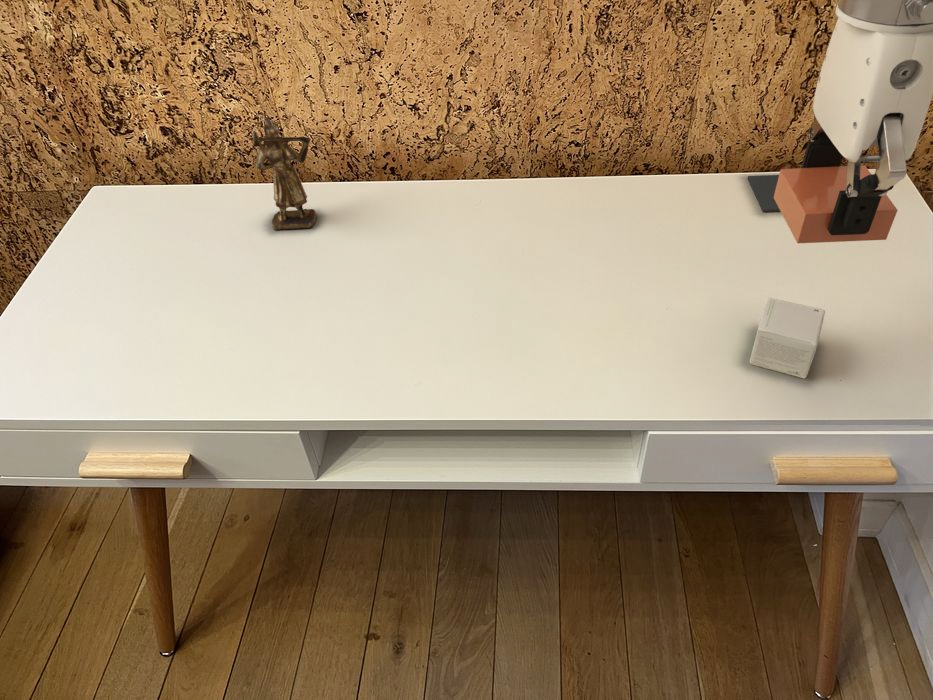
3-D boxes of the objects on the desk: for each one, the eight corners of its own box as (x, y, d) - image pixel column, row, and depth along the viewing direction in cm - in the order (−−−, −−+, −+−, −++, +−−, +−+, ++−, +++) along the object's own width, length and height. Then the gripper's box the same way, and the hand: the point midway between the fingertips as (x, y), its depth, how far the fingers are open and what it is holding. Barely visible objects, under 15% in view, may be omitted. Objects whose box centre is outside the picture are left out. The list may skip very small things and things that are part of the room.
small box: (758, 330, 79) (768, 295, 75) (814, 345, 77) (828, 309, 73) (746, 364, 75) (757, 329, 72) (805, 381, 73) (819, 345, 70)
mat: (830, 210, 94) (831, 207, 94) (762, 212, 94) (763, 209, 94) (810, 176, 100) (811, 173, 100) (747, 178, 101) (747, 175, 100)
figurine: (329, 212, 101) (306, 109, 90) (325, 228, 98) (300, 123, 87) (276, 215, 101) (247, 112, 91) (270, 231, 98) (240, 126, 88)
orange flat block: (886, 240, 62) (898, 209, 60) (797, 243, 63) (805, 213, 61) (855, 193, 68) (865, 164, 66) (773, 197, 68) (780, 168, 66)
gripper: (1015, 36, 46) (916, 264, 58) (902, -46, 59) (840, 155, 71) (891, 43, 46) (818, 267, 58) (805, -39, 59) (760, 159, 71)
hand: (831, 205), depth 64 cm, fingers closed on orange flat block, 7 cm apart
